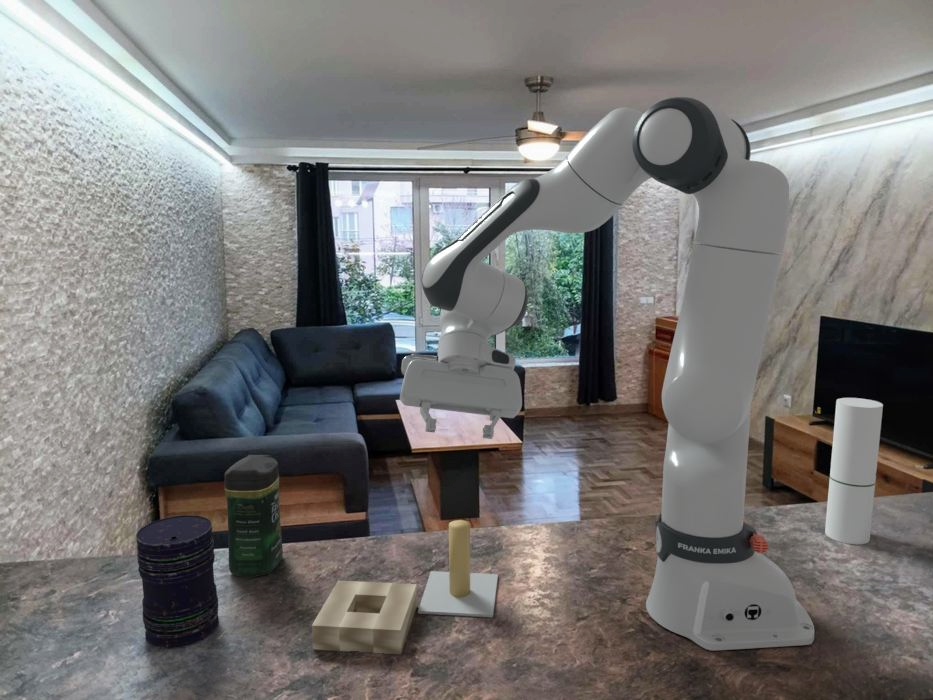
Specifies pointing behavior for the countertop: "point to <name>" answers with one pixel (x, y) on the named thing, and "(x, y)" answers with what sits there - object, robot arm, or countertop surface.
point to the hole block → (365, 617)
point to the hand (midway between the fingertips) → (459, 434)
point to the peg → (459, 558)
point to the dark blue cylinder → (177, 581)
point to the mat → (470, 605)
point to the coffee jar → (253, 516)
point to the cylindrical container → (853, 470)
